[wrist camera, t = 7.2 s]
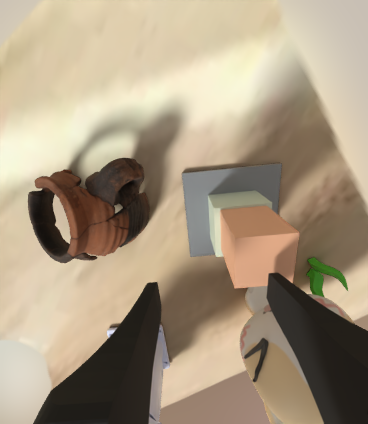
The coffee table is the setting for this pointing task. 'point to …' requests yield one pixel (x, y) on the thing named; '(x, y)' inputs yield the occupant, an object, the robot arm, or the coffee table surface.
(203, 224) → the plate
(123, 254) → the coffee table surface
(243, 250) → the brick
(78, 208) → the brown ring with handle
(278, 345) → the kitten
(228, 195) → the brick
